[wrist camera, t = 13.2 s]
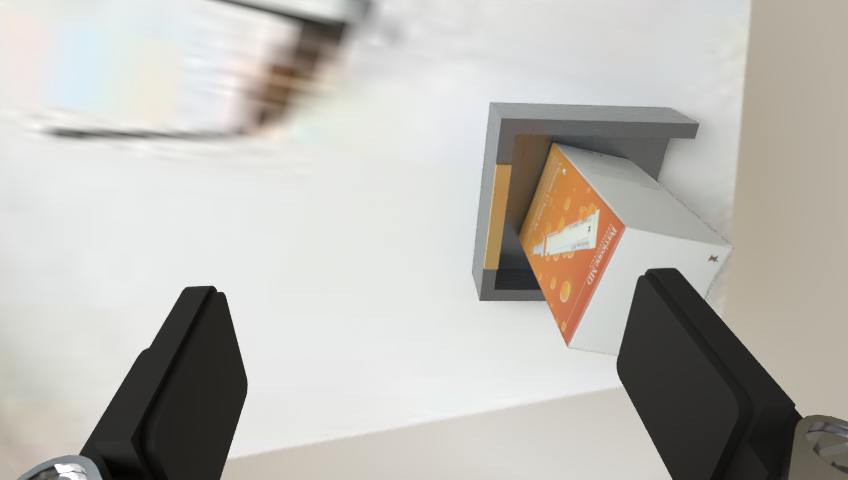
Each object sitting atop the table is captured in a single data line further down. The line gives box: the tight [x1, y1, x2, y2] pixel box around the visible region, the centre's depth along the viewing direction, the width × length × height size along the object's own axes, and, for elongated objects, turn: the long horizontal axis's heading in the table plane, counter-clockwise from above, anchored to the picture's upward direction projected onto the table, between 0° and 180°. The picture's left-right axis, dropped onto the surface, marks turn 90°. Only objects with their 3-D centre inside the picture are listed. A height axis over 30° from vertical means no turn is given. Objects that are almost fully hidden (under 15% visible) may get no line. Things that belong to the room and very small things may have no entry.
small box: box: [518, 143, 734, 356], centre depth 33 cm, size 8×6×13 cm
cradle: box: [472, 102, 699, 301], centre depth 37 cm, size 14×13×4 cm
